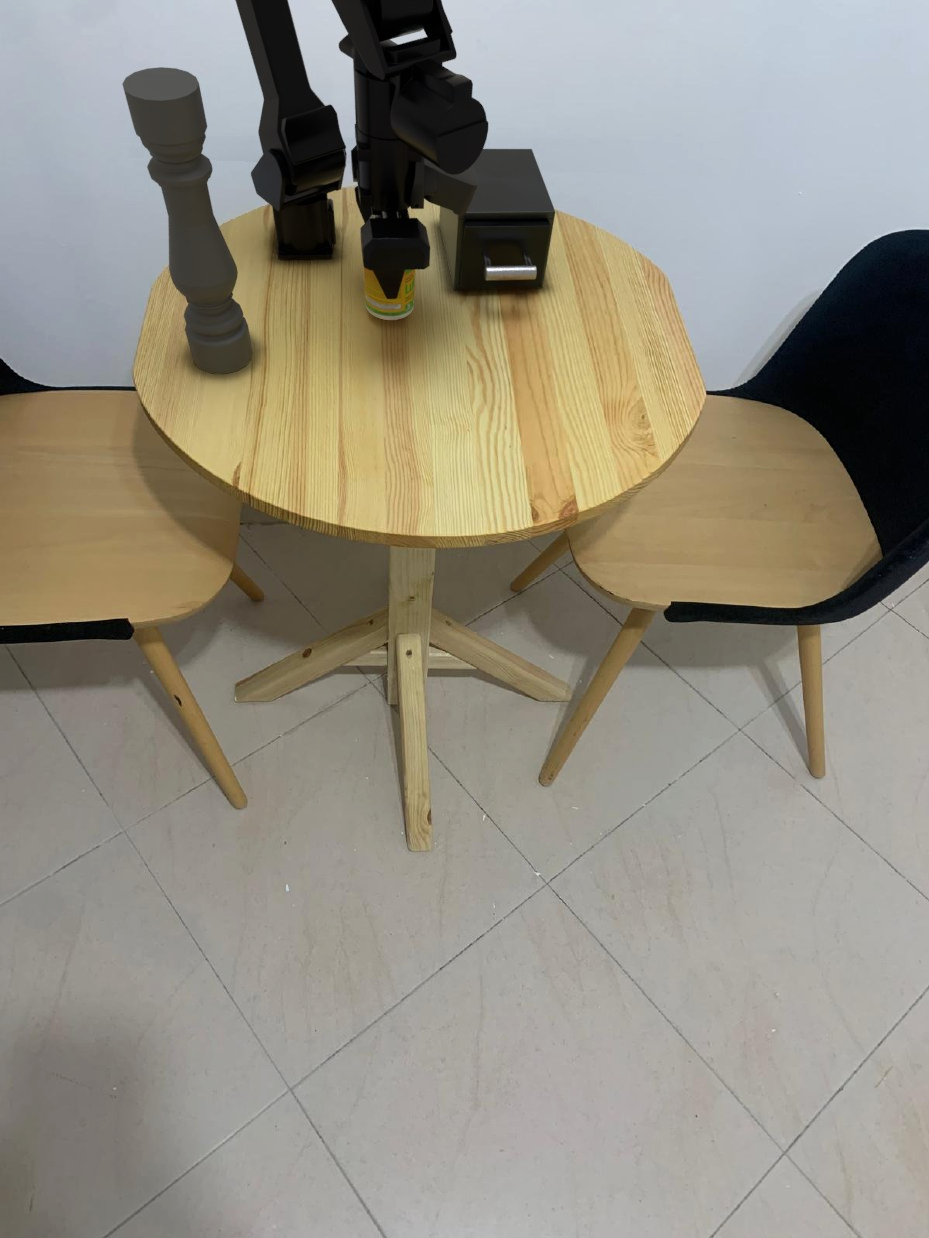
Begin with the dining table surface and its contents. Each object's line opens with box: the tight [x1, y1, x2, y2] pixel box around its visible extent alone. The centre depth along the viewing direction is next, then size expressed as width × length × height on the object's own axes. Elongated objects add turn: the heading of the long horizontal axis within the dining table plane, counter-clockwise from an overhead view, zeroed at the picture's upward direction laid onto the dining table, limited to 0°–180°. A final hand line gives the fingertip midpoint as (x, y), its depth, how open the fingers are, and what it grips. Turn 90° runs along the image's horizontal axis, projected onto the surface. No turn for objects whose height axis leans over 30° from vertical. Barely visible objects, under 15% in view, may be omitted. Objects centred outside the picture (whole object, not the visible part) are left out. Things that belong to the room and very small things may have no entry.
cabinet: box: [438, 148, 556, 291], centre depth 90 cm, size 14×11×9 cm
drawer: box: [459, 219, 551, 290], centre depth 88 cm, size 17×9×7 cm, turn 8°
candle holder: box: [122, 66, 254, 375], centre depth 70 cm, size 6×6×25 cm
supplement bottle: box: [363, 212, 416, 321], centre depth 81 cm, size 5×5×10 cm
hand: (389, 282), depth 83 cm, fingers closed on supplement bottle, 5 cm apart
